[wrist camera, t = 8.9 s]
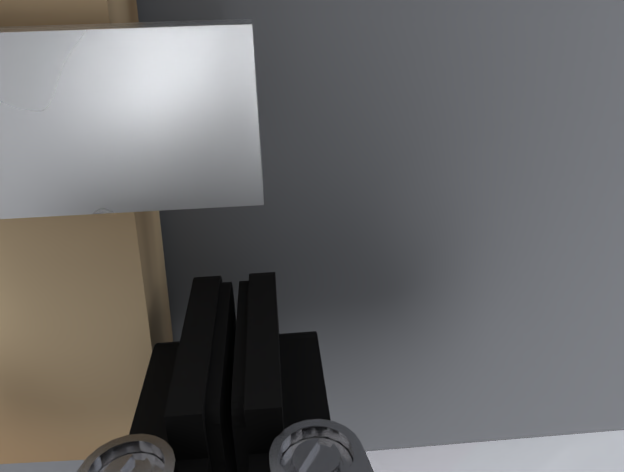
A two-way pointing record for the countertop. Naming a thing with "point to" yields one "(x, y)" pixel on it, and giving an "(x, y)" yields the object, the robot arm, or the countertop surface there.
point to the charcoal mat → (431, 211)
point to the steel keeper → (128, 118)
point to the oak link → (76, 303)
